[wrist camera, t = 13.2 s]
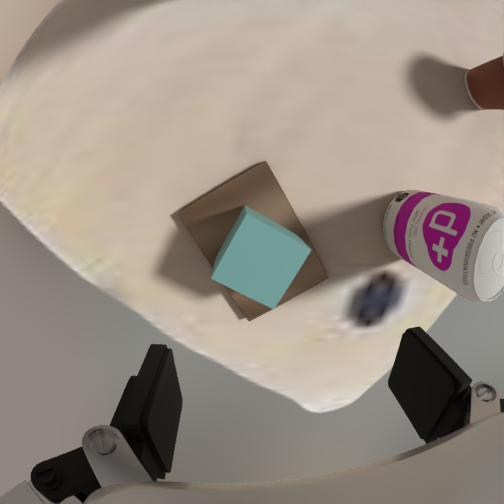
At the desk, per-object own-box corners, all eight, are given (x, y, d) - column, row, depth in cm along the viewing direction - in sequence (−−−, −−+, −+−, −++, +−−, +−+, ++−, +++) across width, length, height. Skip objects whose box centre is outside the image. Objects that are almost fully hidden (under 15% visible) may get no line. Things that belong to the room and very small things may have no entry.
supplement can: (368, 238, 30) (453, 289, 16) (399, 176, 28) (496, 188, 14) (413, 266, 31) (493, 319, 17) (440, 210, 29) (529, 238, 15)
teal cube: (244, 205, 27) (246, 213, 21) (296, 234, 28) (311, 250, 23) (215, 257, 28) (210, 278, 23) (266, 283, 30) (273, 309, 24)
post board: (179, 211, 28) (167, 220, 23) (264, 161, 27) (271, 158, 22) (248, 317, 32) (250, 344, 26) (325, 274, 31) (342, 294, 25)
